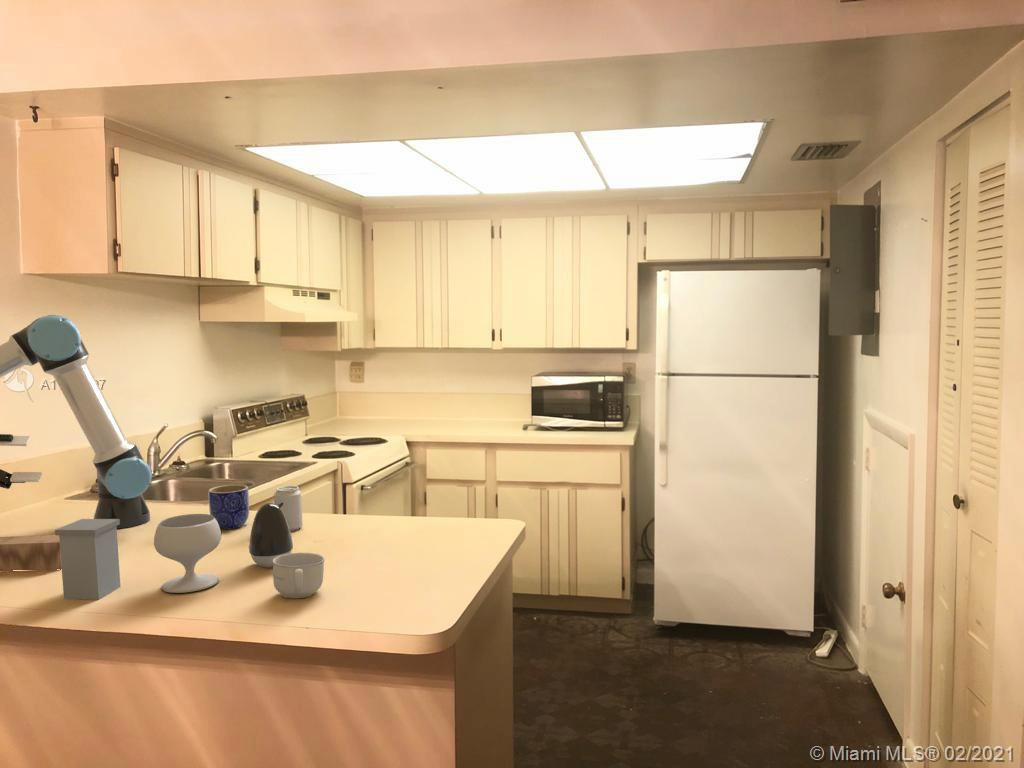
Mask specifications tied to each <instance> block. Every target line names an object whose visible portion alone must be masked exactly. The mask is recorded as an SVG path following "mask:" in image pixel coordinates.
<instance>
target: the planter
mask: <svg viewBox="0 0 1024 768" xmlns="http://www.w3.org/2000/svg"><path fill="white" fill-rule="evenodd" d="M207 495H208V508H209V509H208V510H209V515H212V516H214V518H215V519H216V521H217V522H218V525H219V527H220V530H233V528H234V529H237V528H241V527H242V526H244V525H245V524H246V523H247V521H248V519H249V516H250V497H249V495H250V494H249V487H248V486H247V485H246V484H245V485H244V484H223V485H219V486H215V487H212V488H211V487H210V488H209V489H208V494H207Z"/></svg>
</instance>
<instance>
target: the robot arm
mask: <svg viewBox="0 0 1024 768" xmlns="http://www.w3.org/2000/svg"><path fill="white" fill-rule="evenodd" d="M89 356H90V353H89V352H88V350H87V348H86V346H85V344H84V342H83V339H82V336H81V332H80V330H79V328H78V326H77V325H76V324H75V323H74V322H73V321H71V320H70V319H69V318H67V317H65V316H62V315H56V314H48V315H44V316H41V317H38V318H36V319H35V320H34V321H31V323H29V324H28V325H27V326H26V327H23V328H22V329H21V330H18V331H17V332H15V333H13V334H12V335H9V339H8V340H7V341H5V342H4V343H2V344H0V378H2V377H4V376H6V375H8V374H10V373H12V372H14V371H16V370H18V369H21V368H22V367H24V366H31V367H33V366H34V365H36V364H39V365H40V367H41V368H42V370H43V372H44V374H48V375H51V376H53V378H54V380H55V381H56V384H57V385H58V387H59V389H60V391H61V392H62V394H63V396H64V398H65V400H66V402H67V403H68V406H69V407H70V410H71V411H72V413H73V415H74V417H75V420H77V423H78V424H79V426H80V428H81V430H82V432H83V434H84V436H85V438H86V439H87V441H88V443H89V445H90V446H91V449H92V450H93V452H94V457H93V459H92V463H93V465H94V467H95V469H96V477H97V492H98V500H97V501H98V502H97V505H96V508H95V512H94V515H93V519H120V524H119V525H117V529H123V528H130V527H135V526H140V525H142V524H145V523H147V522H149V521H150V520H151V512H150V510H149V507H148V505H147V502H146V501H145V498H144V495H143V494H144V493H145V492H146V491H147V489H148V488H149V486H150V485H151V482H152V476H153V475H152V470H151V467H150V465H149V464H148V463H147V462H146V461H145V460H144V457H143V455H142V454H141V450H140V448H139V446H138V445H137V444H136V443H135V442H134V441H131V440H128V439H127V438H126V437H125V435H124V433H123V430H122V428H121V426H120V424H119V423H118V421H117V419H116V416H115V415H114V412H113V411H112V410H111V408H110V406H109V404H108V402H107V399H106V398H105V395H104V394H103V392H102V391H101V388H100V386H99V384H98V382H97V381H96V378H95V376H94V375H93V373H92V370H91V369H90V367H89V365H88V359H89ZM30 440H31V437H30V435H13V434H10V433H9V434H8V433H7V434H6V433H4V434H3V433H0V446H1V447H5V446H6V447H28V444H29V442H30ZM42 475H43V473H42V472H41V471H13V472H12V473H10V472H8V471H6V470H3V469H1V468H0V488H3V489H7V490H9V489H10V488H11V486H12V484H25V483H39V482H40V480H41V478H42Z"/></svg>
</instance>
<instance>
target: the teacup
mask: <svg viewBox="0 0 1024 768" xmlns="http://www.w3.org/2000/svg"><path fill="white" fill-rule="evenodd" d="M272 562H273V567H272V576H273V578H272V579H273V586H274V588H275V590H276V591H277V592H278V593H279V594H281V596H282V597H284V598H287V599H302V598H303V599H304V598H309V597H311V596H312V594H313V595H315V593H316V592H317V591H318V590H319V589H321V588H322V585H323V583H324V582H323V580H324V570H325V567H324V565H325V557H324V556H323V555H321V554H318V553H313V552H291V553H290V554H285V555H281V556H278V557H276V558H274V559H273V561H272Z"/></svg>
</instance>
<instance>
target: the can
mask: <svg viewBox="0 0 1024 768" xmlns="http://www.w3.org/2000/svg"><path fill="white" fill-rule="evenodd" d="M273 497H274V499H273V501H274V502H273V503H274V504H276V505H277V504H278V503H280V502H283V503H284V504H283V506H282V507H281V510H282V512H283V513H284V515H285V518H286V520H287V523H288V525H289V529H290V532H294V531H293V530H296V531H297V529H298V530H300V529H301V527H303V508H302V507H303V506H302V505H303V504H302V492H301V490H300V489H299V486H297V485H285V486H280V487H276V490H275V492H274V494H273ZM299 528H300V529H299Z"/></svg>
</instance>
